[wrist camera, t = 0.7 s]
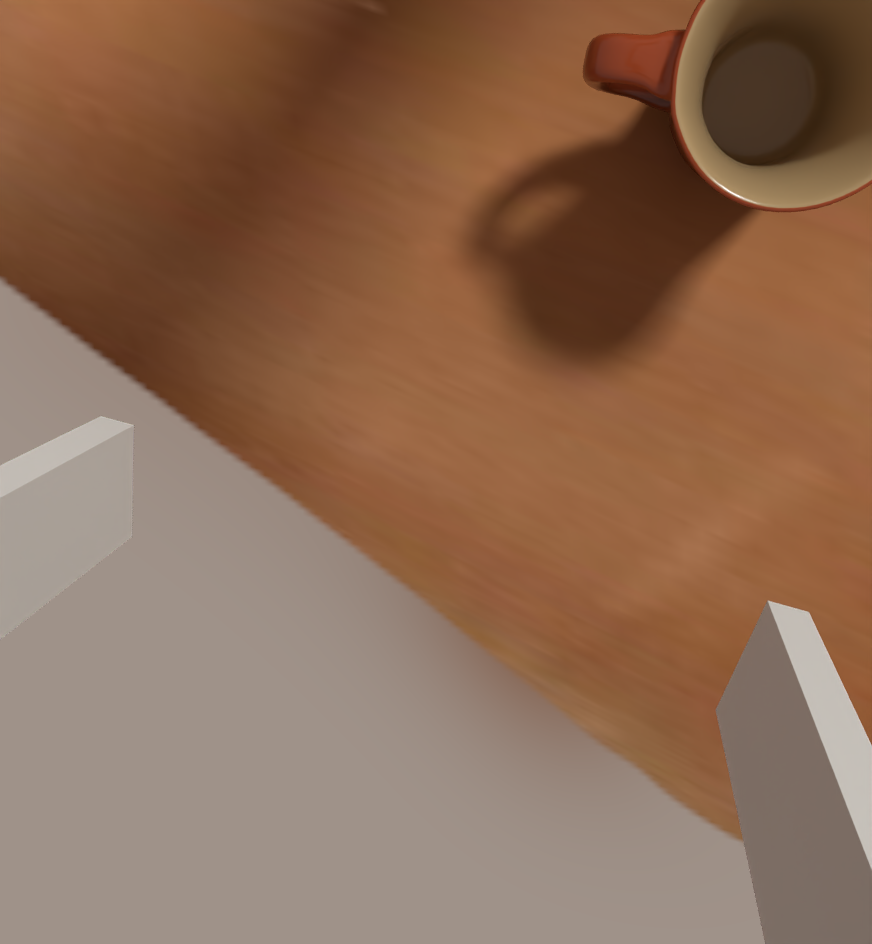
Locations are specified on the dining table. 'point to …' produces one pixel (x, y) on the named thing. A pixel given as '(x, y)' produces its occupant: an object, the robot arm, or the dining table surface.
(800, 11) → the mug
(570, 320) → the dining table surface
